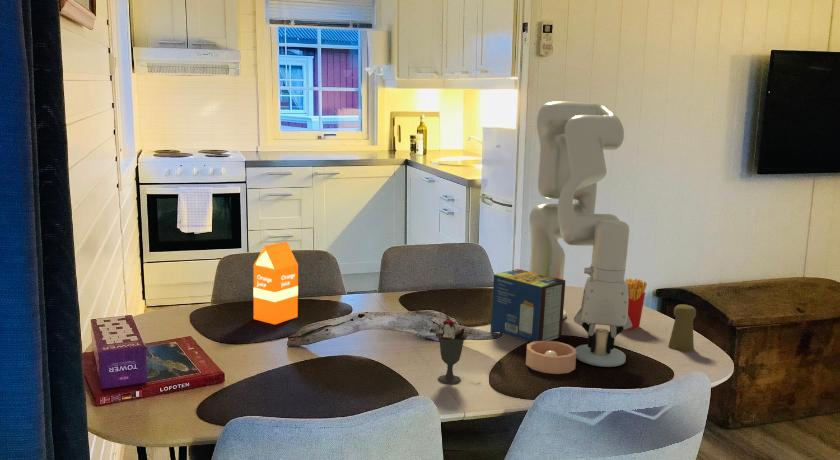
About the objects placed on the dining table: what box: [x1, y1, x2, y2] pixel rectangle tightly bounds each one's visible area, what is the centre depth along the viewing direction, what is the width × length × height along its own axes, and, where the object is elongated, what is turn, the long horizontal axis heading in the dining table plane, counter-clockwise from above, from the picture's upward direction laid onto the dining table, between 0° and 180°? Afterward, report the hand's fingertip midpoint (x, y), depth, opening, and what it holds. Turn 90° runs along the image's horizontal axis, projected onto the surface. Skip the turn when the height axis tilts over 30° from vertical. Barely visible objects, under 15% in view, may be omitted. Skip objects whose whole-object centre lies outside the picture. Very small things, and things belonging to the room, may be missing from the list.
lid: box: [574, 327, 627, 368], centre depth 166 cm, size 12×12×6 cm
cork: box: [668, 304, 697, 353], centre depth 179 cm, size 6×6×11 cm
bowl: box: [525, 340, 577, 375], centre depth 162 cm, size 11×11×4 cm
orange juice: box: [252, 241, 299, 325], centre depth 189 cm, size 8×9×20 cm
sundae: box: [435, 310, 468, 385], centre depth 152 cm, size 7×7×15 cm
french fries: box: [625, 278, 647, 331], centre depth 194 cm, size 9×4×13 cm, turn 115°
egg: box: [544, 350, 558, 356], centre depth 162 cm, size 3×3×3 cm
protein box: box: [490, 268, 566, 343], centre depth 183 cm, size 10×15×16 cm
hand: (600, 350), depth 167 cm, fingers closed on lid, 3 cm apart
